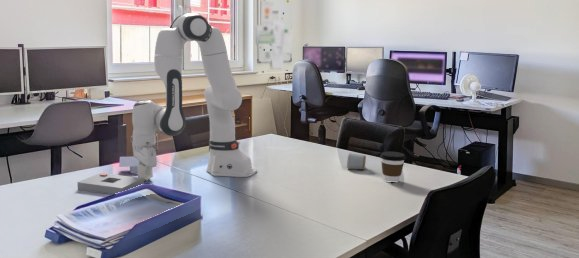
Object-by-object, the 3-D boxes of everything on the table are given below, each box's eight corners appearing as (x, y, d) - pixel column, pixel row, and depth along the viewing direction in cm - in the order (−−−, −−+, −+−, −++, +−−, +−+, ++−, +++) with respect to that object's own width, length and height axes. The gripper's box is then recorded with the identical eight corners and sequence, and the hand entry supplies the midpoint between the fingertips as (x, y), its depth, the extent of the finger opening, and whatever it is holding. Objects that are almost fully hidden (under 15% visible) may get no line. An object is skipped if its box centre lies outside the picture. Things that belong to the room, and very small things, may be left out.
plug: (152, 179, 207) (152, 161, 206) (147, 182, 203) (146, 164, 202) (143, 178, 209) (143, 160, 207) (138, 181, 205) (137, 163, 203)
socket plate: (143, 185, 200) (143, 176, 199) (122, 195, 186) (121, 186, 186) (101, 180, 205) (100, 171, 204) (77, 189, 192) (77, 180, 191)
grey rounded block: (364, 171, 228) (365, 155, 227) (346, 170, 230) (347, 154, 228) (365, 166, 238) (366, 150, 237) (348, 165, 240) (349, 149, 239)
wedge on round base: (119, 174, 214) (150, 173, 217) (118, 159, 213) (150, 158, 216) (121, 168, 223) (151, 167, 226) (120, 154, 221) (151, 153, 224)
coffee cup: (404, 185, 208) (406, 158, 206) (378, 183, 210) (379, 156, 208) (403, 178, 219) (405, 152, 216) (378, 176, 221) (380, 150, 218)
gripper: (160, 144, 196) (161, 178, 199) (144, 135, 213) (145, 166, 215) (144, 146, 193) (145, 180, 195) (129, 136, 209) (130, 168, 212)
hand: (145, 172), depth 205 cm, fingers closed on plug, 6 cm apart
